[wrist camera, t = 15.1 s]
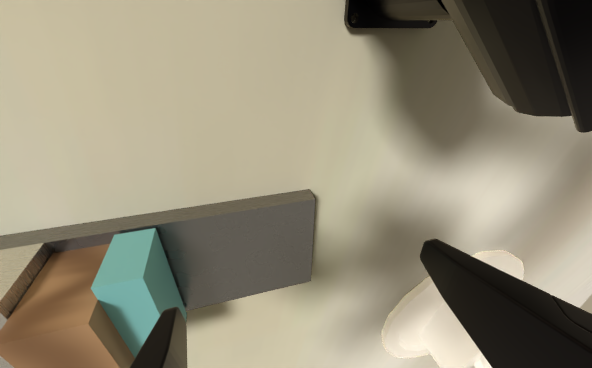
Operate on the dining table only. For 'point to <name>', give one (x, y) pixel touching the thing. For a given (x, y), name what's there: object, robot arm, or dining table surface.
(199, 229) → the vise base
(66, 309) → the brown rectangular block
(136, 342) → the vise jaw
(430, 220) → the dining table surface
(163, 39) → the dining table surface
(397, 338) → the dish
